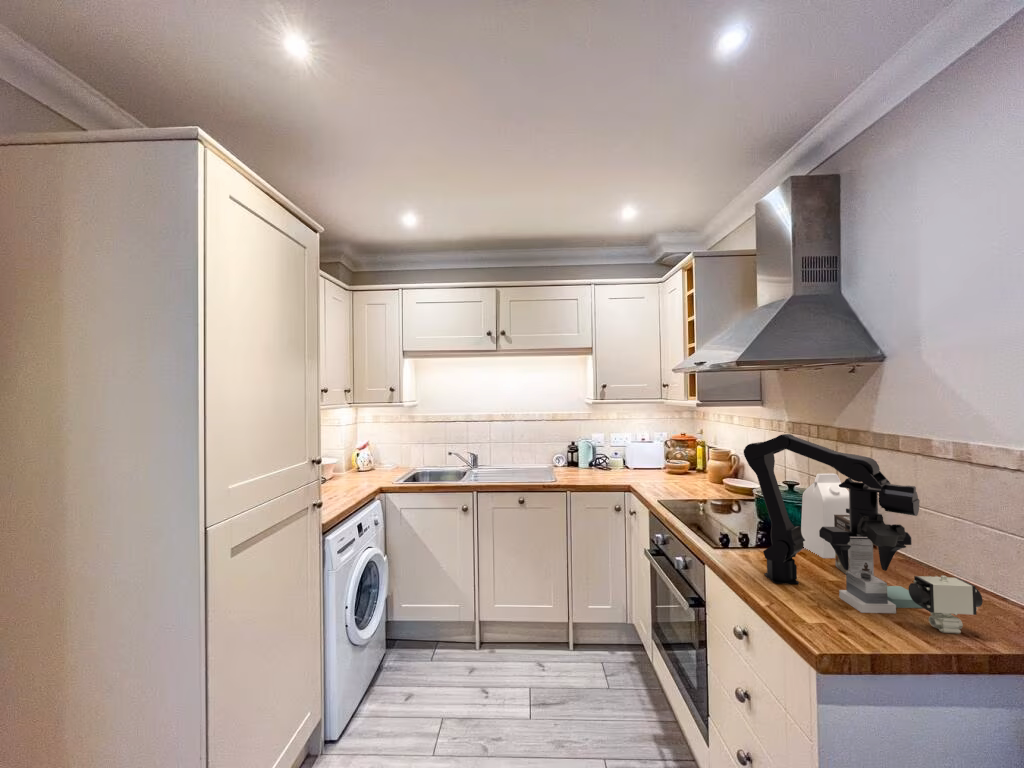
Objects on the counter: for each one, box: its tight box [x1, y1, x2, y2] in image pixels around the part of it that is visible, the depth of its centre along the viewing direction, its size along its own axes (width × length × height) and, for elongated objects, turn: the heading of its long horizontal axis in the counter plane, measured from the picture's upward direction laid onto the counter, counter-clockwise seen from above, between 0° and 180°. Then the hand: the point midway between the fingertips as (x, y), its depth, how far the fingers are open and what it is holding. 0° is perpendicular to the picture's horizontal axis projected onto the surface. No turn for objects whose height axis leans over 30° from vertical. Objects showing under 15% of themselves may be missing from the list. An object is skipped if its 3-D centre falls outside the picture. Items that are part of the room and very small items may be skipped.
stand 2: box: [887, 585, 924, 609], centre depth 115 cm, size 8×8×2 cm
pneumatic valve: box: [908, 575, 984, 635], centre depth 101 cm, size 6×12×12 cm, turn 82°
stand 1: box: [838, 589, 897, 614], centre depth 112 cm, size 8×8×2 cm
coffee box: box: [834, 515, 875, 576], centre depth 133 cm, size 9×6×16 cm
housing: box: [845, 571, 888, 604], centre depth 112 cm, size 5×7×6 cm
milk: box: [800, 473, 850, 559], centre depth 150 cm, size 12×12×26 cm
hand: (865, 569), depth 112 cm, fingers open, 9 cm apart
